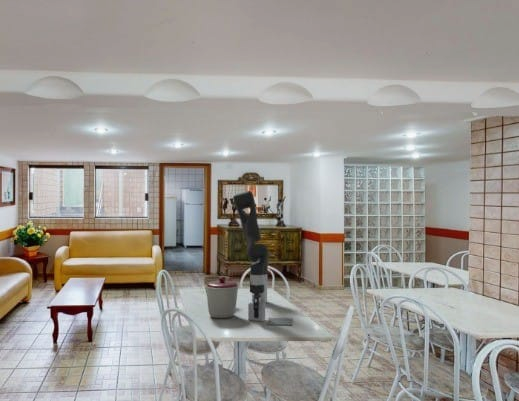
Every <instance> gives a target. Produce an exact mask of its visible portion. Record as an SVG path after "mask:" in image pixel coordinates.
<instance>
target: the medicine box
mask: <svg viewBox="0 0 519 401" xmlns="http://www.w3.org/2000/svg"><path fill="white" fill-rule="evenodd" d="M247 305H248V308H247V309H248V311H247V314H248V315H247V317H248V319H247V320H248V321H255V322H257V321H258V322H264V321H265V319H266V303H261V302H260V305H259V317H258V318H254V310H253V302H252V301H250V302H249V303H248V304H247ZM255 307H256V308H257V306H255Z"/></svg>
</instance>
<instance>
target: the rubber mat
mask: <svg viewBox="0 0 519 401" xmlns="http://www.w3.org/2000/svg"><path fill="white" fill-rule="evenodd" d="M266 325H267V326H281V327H283V326H284V327H285V326H287V327H293V318H292V317H291V318H290V317H268V319H267V324H266Z"/></svg>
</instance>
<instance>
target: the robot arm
mask: <svg viewBox="0 0 519 401" xmlns="http://www.w3.org/2000/svg"><path fill="white" fill-rule="evenodd" d="M232 199H233V203H234V206H235V209H236V211H237V214H238V217H239V220H240V225H241V228H242V232H243V235H244V237H245V241H246V245H247V247H246V253H247V256H248V257H249V260H250V261H251V264H250V272H249V273H250V276H249V293H251V302H253V310H254V318H258V317H259V305H260V302H261V303H265V304H267V303H268V268H269V267H268V265H269V264H268V263H269V250H268V247H267V245H266V244H264V243H259V244H258V243H257V242H260V240H261V239H262V238H261V236H262V235H261V233H260V228H259V223H258V217H257V215H258V214H257V209H256V202H255V198H254V194H253V192H252V191H251V190H245V191H241V192H238V193H235V194H234V195H233V198H232ZM245 209H249V214H248V213H247V212H246V211H245ZM256 243H257V244H256ZM255 306H257V308H256V307H255Z"/></svg>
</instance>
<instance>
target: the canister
mask: <svg viewBox="0 0 519 401" xmlns="http://www.w3.org/2000/svg"><path fill="white" fill-rule="evenodd" d="M220 276H221V277H219V281H212V282H209V283H208V284H206V285H205V284H204V288H205V287H206V290H207V294H206V299H207V307H208V313H209V315H210V317H212V318H214V319H229V318H231V317H233V316H234V315H235V313H236V308H237V307H236V306H237V298H238V290H239V288H240V284H239V283H237V282H236V281H233V280H229V281H225V280H226V278H225V277H224V276H223V275H220ZM206 290H205V291H206Z"/></svg>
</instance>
